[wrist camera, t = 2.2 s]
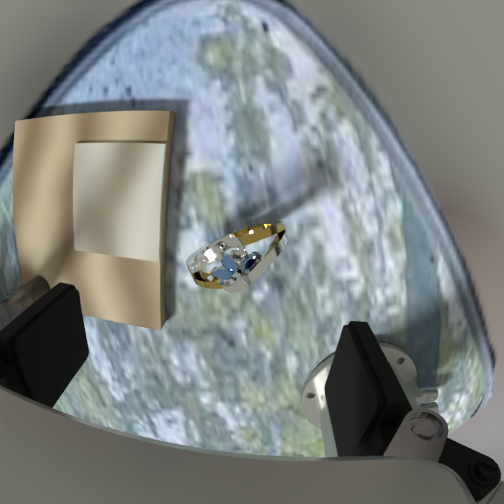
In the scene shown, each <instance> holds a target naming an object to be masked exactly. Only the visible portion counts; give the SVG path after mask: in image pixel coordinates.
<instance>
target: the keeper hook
mask: <svg viewBox="0 0 504 504" xmlns="http://www.w3.org/2000/svg"><path fill="white" fill-rule="evenodd" d="M49 290H50V286H49V283H48V282H47V280H46V279H45V278H44V277H42V276H40V275H37V276H35V277H34V278H32V279H31V280H29V281H28V282H26V283H25V284H23V285H22V286H20V287H19V288H17V289H16V290H14V291H13V292H12V293H10V294H9V295H7V296H6V297H4V298H3V299H2V300H0V331H1V330H2V329H3V328H4V327H5V326H7V325H8V324H9V323H10V322H11V321H12V320H14V319H15V318H16V317H17V316H18V315H19V314H21V313H22V312H23V311H24V310H25V309H27V308H28V307H29V306H30V305H32V304H33V303H34V302H35V301H36V300H38V299H39V298H40V297H41V296H43V295H44V294H45V293H46V292H48V291H49Z"/></svg>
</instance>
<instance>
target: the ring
mask: <svg viewBox="0 0 504 504" xmlns="http://www.w3.org/2000/svg"><path fill="white" fill-rule="evenodd" d="M272 235H276V236H275V238H274V239H273V241H272V242H271V244H270V245H269V246H268V247H267V249H266V250H265V251H264V252H263V253H262V254H260V253H258V252H257V251H255V252H252V254H249V255H248V253H247V251H246V250H245V246H247V245H249V244H251V243H254V242H256V241H259V240H262V239H264V238H267V237H269V236H272ZM287 240H288V237H287V233H286V229H285V227H284V224H283V221H271V222H266V223H262V224H257V225H254V226H250V227H247V228H240V229H236V230H234V232H231V233H229V234H226V235H224V236H221V237H219V238H217V239H215V240H213V241H211V242H209V243H207V244H206V245H204V246H202V247H201V248H199V249H198V250H196V251H195V252H194V253H193V254H191V255H190V256H189V257H188V259H187V260H186V265H187V267H188V270H189V272H190V273H191V275H192V277H193V280H194V282H195V283H196V284H197V285H199V286H201V287H204V288H210V289H221V288H224V289H225V290H226V291H228V292H232V293H234V292H239V291H242V290H244V289H245V288H247V287H248V286H249V285H251V284H252V283H253V282H254V281H255V280H256V279H257V278H258V277H259V276H260V275H261V274H262V273H263V272H264V271H265V270H266V269H267V268H268V267H269V266H270V265H271V264H272V262H273V261H274V260H275V259H276V258H277V257H278V255H279V254H280V253H281V251H282V250H283V248H284V247H285V245H286V243H287ZM234 247H235V248H237V250H236V251H234V250H232V251H231V255H229V254H226V253H225V251H226V250H228V249H230V248H234ZM215 259H216V260H217V263H219V262H220V261H221V264H222V265H223V266H220V267H214V268H213V269H212V270H211V272H210V273H209V274H208V273H205V272H203V271H202V269H203V268H205V267H206V266H208V265H209V264H210V263H212V262H213V261H214V260H215ZM239 274H240V276H239ZM238 276H239V277H238ZM228 279H230V281H228Z"/></svg>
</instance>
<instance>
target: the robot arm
mask: <svg viewBox="0 0 504 504" xmlns="http://www.w3.org/2000/svg"><path fill="white" fill-rule="evenodd" d="M88 354H89V348H88V343H87V338H86V333H85V327H84V321H83V315H82V308H81V301H80V294H79V291H78V290H77V289H76V287H75V286H74V285H72V284H67V283H63V282H60V283H58V284H57V285H55V286H54V287H53V288H52V289H50V290H49V291H48V292H46V293H45V294H44V295H43V296H41V297H40V298H39V299H38V300H36V301H35V302H34V303H33V304H32V305H30V306H29V307H28V308H27V309H25V310H24V311H23V312H22V313H21V314H19V315H18V316H17V317H16V318H15V319H14V320H12V321H11V322H10V323H9V324H8V325H7V326H5V327H4V328H3V329H2V330H1V331H0V504H504V481H501V480H500V479H501V472H500V468H499V467H498V464H497V463H496V462H495V461H494V460H493V459H491V458H490V457H488V456H486V455H484V454H481V453H479V452H477V451H475V450H472V449H470V448H468V447H466V446H464V445H462V444H460V443H458V442H456V441H453V440H451V439H449V438H447V436H448V426H447V423H446V421H445V420H444V418H443V417H441V416H440V415H439V414H438V405H437V403H436V402H429V403H421V402H422V401H425V402H426V401H435V400H436V399H437V398H438V390H437V389H426V390H421V389H420V388H418V386H417V384H416V380H417V372H416V367H415V365H414V363H413V361H412V359H411V358H410V356H409V355H408V354H407V353H406V352H405V351H404V350H403V349H401V348H399V347H397V346H395V345H392V344H387V343H378V341H377V339H376V338H375V336H374V334H373V332H372V330H371V328H370V327H369V325H368V323H367V322H359V321H350V322H349V324H348V325H344V326H343V329H342V332H341V336H340V339H339V342H338V346H337V349H336V352H335V354H334V355H332V356H331V357H329V358H327V359H326V360H325V361H324V362H322V363H321V364H320V365H319V366H317V367H316V369H315V370H314V371H313V372H312V373H311V374H310V375H309V377H308V379H307V380H306V382H305V384H304V386H303V389H302V393H301V403H302V410H303V413H304V415H305V417H306V418H307V419H308V421H309V422H310V423H312V424H313V425H314V426H316V427H318V428H319V429H321V431H322V437H323V443H324V449H325V455H326V457H294V456H270V455H255V454H244V453H234V452H225V451H217V450H210V449H203V448H197V447H191V446H185V445H179V444H174V443H169V442H164V441H160V440H155V439H151V438H146V437H142V436H138V435H134V434H130V433H126V432H123V431H119V430H115V429H112V428H109V427H105V426H102V425H99V424H96V423H92V422H89V421H86V420H83V419H80V418H77V417H75V416H72V415H69V414H66V413H64V412H61V411H58V410H56V409H53V406H54V405H55V403H56V402H57V400H58V399H59V398H60V396H61V395H62V393H63V392H64V390H65V389H66V387H67V386H68V385H69V383H70V382H71V380H72V379H73V377H74V376H75V375H76V373H77V372H78V370H79V369H80V368H81V366H82V365H83V363H84V362H85V361H86V359H87V358H88Z"/></svg>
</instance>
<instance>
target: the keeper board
mask: <svg viewBox="0 0 504 504" xmlns="http://www.w3.org/2000/svg"><path fill="white" fill-rule="evenodd" d="M174 122H175V113H174V112H172V111H110V112H92V113H79V114H67V115H58V116H49V117H41V118H33V119H26V120H20V121H16V123H15V135H14V151H13V206H14V223H15V235H16V245H17V253H18V261H19V268H20V275H21V281H22V285H23V284H25V283H26V282H28V281H29V280H31V279H32V278H34V277H35V276H37V275H40V276H42V277H44V278H45V279H46V280H47V282H48V283H49V286H50V289H52V288H53V287H54V286H55V285H57V284H58V283H60V282H63V283H67V284H72V285H74V286H75V287H76V289H77V290H78V291H79V294H80V301H81V308H82V314H84V315H88V316H92V317H97V318H101V319H106V320H110V321H115V322H120V323H124V324H129V325H134V326H140V327H145V328H150V329H156V330H161V329H162V327H163V325H164V324H165V257H166V226H167V205H168V189H169V175H170V163H171V151H172V141H173V131H174Z"/></svg>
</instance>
